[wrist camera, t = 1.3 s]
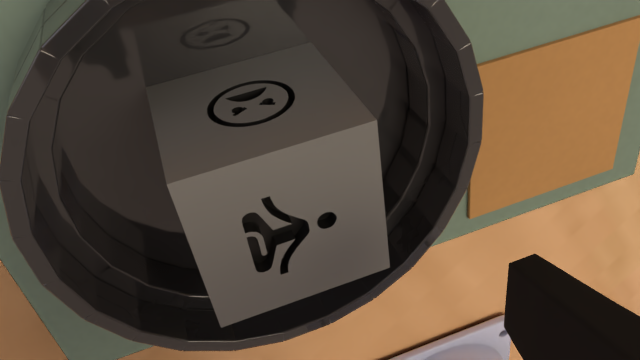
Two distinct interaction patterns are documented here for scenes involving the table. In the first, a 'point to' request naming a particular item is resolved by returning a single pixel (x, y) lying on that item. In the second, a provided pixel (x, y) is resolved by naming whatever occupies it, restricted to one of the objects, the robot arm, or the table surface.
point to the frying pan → (146, 166)
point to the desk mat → (497, 132)
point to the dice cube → (272, 179)
